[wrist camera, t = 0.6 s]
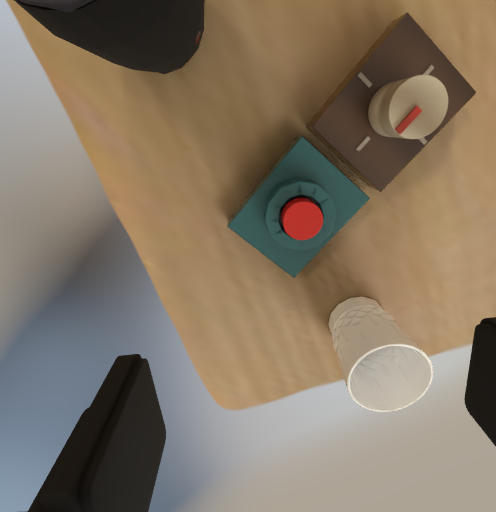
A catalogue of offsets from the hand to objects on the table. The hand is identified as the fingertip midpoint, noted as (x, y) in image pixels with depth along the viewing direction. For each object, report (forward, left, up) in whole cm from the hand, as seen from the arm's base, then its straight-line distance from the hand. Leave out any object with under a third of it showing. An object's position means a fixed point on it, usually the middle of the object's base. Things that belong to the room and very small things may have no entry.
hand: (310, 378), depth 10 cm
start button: (-1, +4, -23) cm, 24 cm away
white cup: (+4, +19, -27) cm, 33 cm away
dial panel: (-13, +4, -27) cm, 30 cm away
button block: (-1, +4, -27) cm, 27 cm away
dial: (-13, +4, -24) cm, 28 cm away
